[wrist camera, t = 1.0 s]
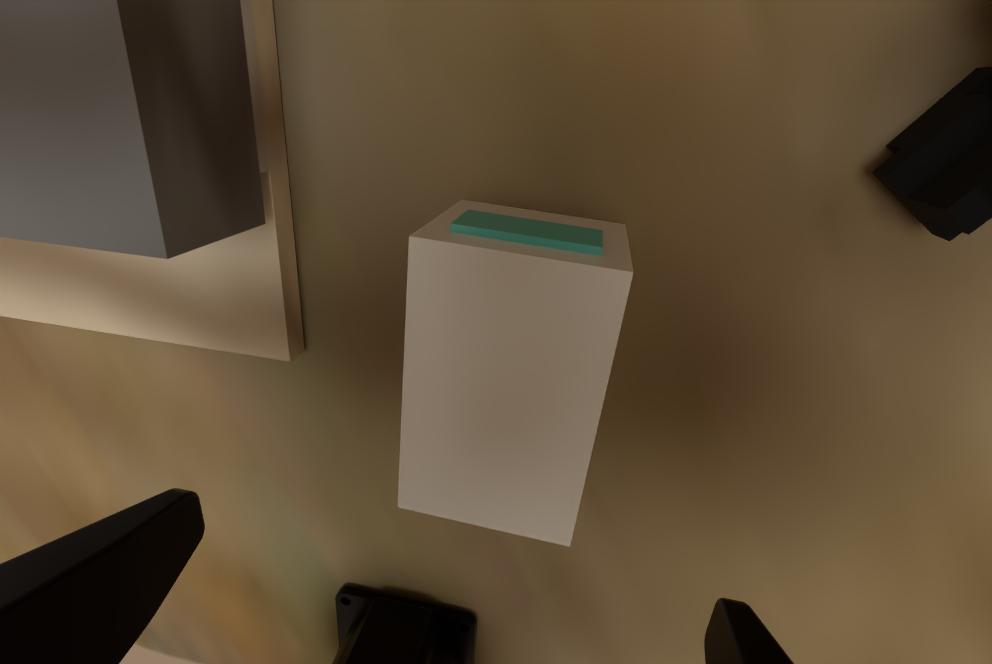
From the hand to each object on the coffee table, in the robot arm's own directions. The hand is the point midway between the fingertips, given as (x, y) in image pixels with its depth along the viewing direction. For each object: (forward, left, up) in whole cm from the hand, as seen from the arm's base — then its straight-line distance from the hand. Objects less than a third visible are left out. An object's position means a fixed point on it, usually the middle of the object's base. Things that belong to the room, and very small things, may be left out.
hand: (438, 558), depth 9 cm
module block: (0, 0, -10) cm, 10 cm away
